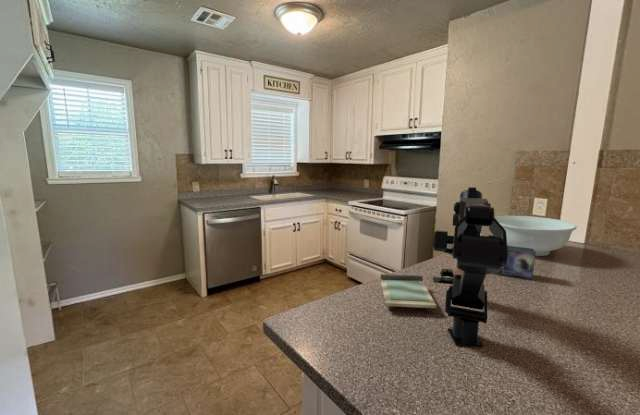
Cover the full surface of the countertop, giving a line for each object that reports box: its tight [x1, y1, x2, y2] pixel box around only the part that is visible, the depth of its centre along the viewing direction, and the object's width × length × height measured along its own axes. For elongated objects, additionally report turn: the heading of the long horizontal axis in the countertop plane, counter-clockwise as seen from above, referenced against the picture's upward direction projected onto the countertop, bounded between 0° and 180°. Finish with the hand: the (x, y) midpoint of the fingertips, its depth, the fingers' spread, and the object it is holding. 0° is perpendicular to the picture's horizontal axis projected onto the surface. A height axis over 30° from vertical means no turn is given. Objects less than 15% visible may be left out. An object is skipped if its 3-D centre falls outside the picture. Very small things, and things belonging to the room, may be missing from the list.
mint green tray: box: [380, 273, 437, 313], centre depth 94 cm, size 18×14×4 cm
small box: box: [498, 245, 537, 281], centre depth 112 cm, size 11×6×10 cm, turn 62°
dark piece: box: [432, 268, 454, 285], centre depth 108 cm, size 12×7×5 cm, turn 74°
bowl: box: [494, 215, 578, 257], centre depth 140 cm, size 32×32×15 cm
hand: (464, 256), depth 94 cm, fingers closed on canister, 6 cm apart
